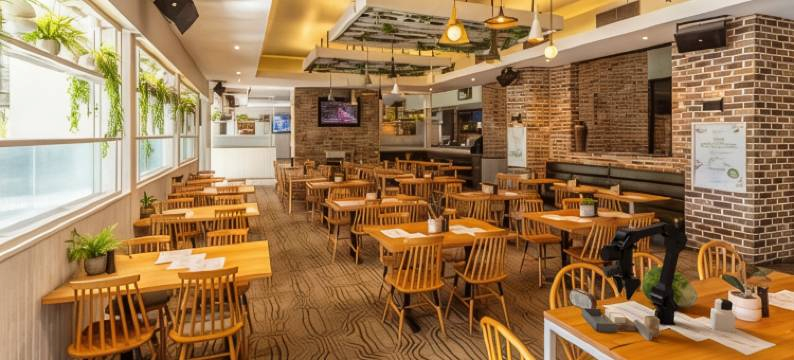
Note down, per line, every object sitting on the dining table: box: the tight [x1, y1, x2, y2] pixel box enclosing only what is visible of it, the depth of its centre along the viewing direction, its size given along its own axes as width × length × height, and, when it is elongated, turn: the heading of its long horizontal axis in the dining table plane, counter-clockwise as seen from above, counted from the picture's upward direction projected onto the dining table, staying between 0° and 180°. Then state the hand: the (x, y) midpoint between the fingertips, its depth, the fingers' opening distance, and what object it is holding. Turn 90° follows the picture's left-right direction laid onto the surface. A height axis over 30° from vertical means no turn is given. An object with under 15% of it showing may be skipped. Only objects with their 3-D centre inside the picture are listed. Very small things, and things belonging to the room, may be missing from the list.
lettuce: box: [641, 266, 698, 308], centre depth 228 cm, size 19×23×18 cm
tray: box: [581, 307, 617, 333], centre depth 206 cm, size 8×18×4 cm, turn 177°
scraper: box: [633, 315, 661, 342], centre depth 195 cm, size 6×13×7 cm, turn 177°
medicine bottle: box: [709, 298, 737, 333], centre depth 202 cm, size 7×7×12 cm
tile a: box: [604, 308, 621, 318], centre depth 208 cm, size 4×4×2 cm
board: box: [602, 312, 636, 332], centre depth 206 cm, size 8×14×2 cm, turn 177°
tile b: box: [610, 312, 626, 323], centre depth 203 cm, size 4×4×2 cm
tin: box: [568, 287, 598, 310], centre depth 225 cm, size 15×3×8 cm, turn 23°
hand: (623, 296), depth 202 cm, fingers open, 9 cm apart
